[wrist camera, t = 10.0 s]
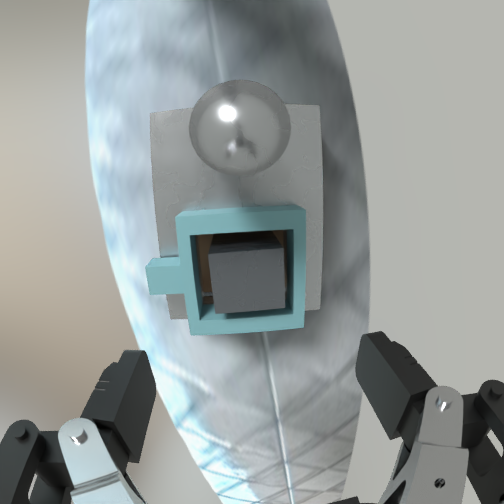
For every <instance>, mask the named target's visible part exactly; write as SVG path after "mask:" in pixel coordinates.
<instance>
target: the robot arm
mask: <svg viewBox="0 0 504 504" xmlns="http://www.w3.org/2000/svg"><path fill="white" fill-rule="evenodd" d="M356 377H357V380H358V382H359V384H360V385H361V387H362V389H363V391H364V393H365V394H366V396H367V398H368V400H369V402H370V404H371V405H372V407H373V409H374V411H375V413H376V415H377V417H378V418H379V420H380V422H381V424H382V426H383V428H384V430H385V432H386V433H387V435H388V437H389V439H390V440H392V439H395V438H398V437H402V439H403V442H402V444H401V447H400V450H399V454H398V457H397V460H396V463H395V466H394V469H393V472H392V475H391V478H390V481H389V483H388V486H387V488H386V490H385V491H384V493H383V495H382V497H381V498H380V500H379V502H378V504H461V503H462V498H463V493H464V487H465V481H466V475H467V476H468V478H469V480H470V482H471V484H472V486H473V488H474V490H475V492H476V494H477V496H478V498H479V500H480V502H481V504H504V451H503V456H502V457H501V456H500V455H499V453H498V452H497V450H496V449H495V447H494V445H493V444H492V443H491V441H490V439H489V438H488V436H487V434H488V433H489V431H490V430H491V429H492V431H493V432H494V434H495V435H496V437H497V438H498V440H499V441H500V442H501V444H502V446H503V450H504V383H502V382H500V381H497V380H488V381H486V382H484V383H483V384H482V386H481V387H480V389H479V391H478V393H474V394H468V395H460V393H459V392H458V391H456V390H455V389H453V388H451V387H447V386H437V385H436V383H435V382H434V381H433V380H432V379H431V377H430V376H429V375H428V374H427V372H426V371H425V370H424V369H423V368H422V367H421V365H420V364H418V363H417V361H416V359H415V358H414V357H412V355H411V354H410V352H409V351H408V350H407V349H406V348H405V347H404V346H402V345H400V344H398V343H397V342H395V341H393V342H391V341H390V340H389V338H388V337H387V336H386V335H385V334H384V333H383V332H382V331H379V332H374V333H368V334H363V335H362V337H361V340H360V346H359V351H358V357H357V362H356ZM155 397H156V383H155V379H154V376H153V373H152V370H151V367H150V363H149V360H148V357H147V354H146V352H145V351H144V350H125V351H124V352H123V354H122V356H121V358H120V360H119V362H118V363H116V362H113V363H112V364H111V365H110V366H108V367H107V368H106V369H105V370H104V371H103V373H102V375H101V377H100V379H99V382H98V383H97V384H96V386H95V390H94V391H93V392H92V394H91V396H90V398H89V400H88V402H87V404H86V406H85V408H84V410H83V413H82V415H81V417H80V418H75V419H72V420H69V421H68V422H66V423H65V424H64V425H63V426H62V427H61V428H60V430H59V431H39V430H38V428H37V427H36V425H35V424H34V423H33V422H31V421H29V420H19V421H16V422H15V423H13V424H12V425H11V426H10V427H9V429H8V430H7V432H6V434H5V436H4V438H3V439H2V441H1V443H0V504H71V499H72V500H73V503H74V504H148V503H147V502H146V501H145V499H144V497H143V496H142V495H141V493H140V491H139V490H138V488H137V487H136V485H135V484H134V482H133V480H132V479H131V477H130V476H129V474H128V472H127V471H126V467H127V463H128V462H133V463H139V461H140V456H141V451H142V448H143V444H144V440H145V435H146V431H147V427H148V423H149V420H150V416H151V412H152V408H153V404H154V401H155ZM34 474H36V475H37V479H36V481H35V484H34V487H33V490H32V493H31V497H30V500H29V499H28V492H29V489H30V486H31V483H32V480H33V477H34ZM329 504H375V503H359V500H358V497H357V496H356V497H352V498H349V499H345V500H341V501H337V502H333V503H329Z"/></svg>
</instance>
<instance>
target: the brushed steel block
mask: <svg viewBox="0 0 504 504" xmlns="http://www.w3.org/2000/svg"><path fill="white" fill-rule="evenodd" d="M208 259H209V268H210V276H211V284H212V292H213V300H214V308H215V314H222V313H235V312H247V311H259V310H269V309H279V308H285V275H284V248H283V246H282V245H281V243H280V242H279V240H278V239H277V237H276V236H275V234H274V233H273V231H272V230H266V231H249V232H232V233H216V234H213V238H212V241H211V245H210V249H209V252H208Z"/></svg>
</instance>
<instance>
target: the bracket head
mask: <svg viewBox="0 0 504 504" xmlns="http://www.w3.org/2000/svg"><path fill="white" fill-rule="evenodd" d="M175 222H176V232H177V241H178V250H179V257H168V258H153V259H152V260H151V261H150V262H149V263H148V265H147V266H146V267H145V269H146V275H147V281H148V287H149V292H150V295H159V294H184V296H185V303H186V310H187V316H188V322H189V328H190V334H191V335H216V334H235V333H250V332H263V331H275V330H286V329H296V328H304V314H305V283H306V209H304V208H302V207H300V206H298V205H282V206H259V207H240V208H224V209H209V210H195V211H182V212H181V213H180V214H178V215H177V216H176V217H175ZM285 229H287V299H285V308H279V309H269V310H259V311H247V312H235V313H222V314H215V308H214V304H205V305H203V303H202V295H201V286H200V277H199V268H198V259H197V249H196V238H195V235H201V234H216V233H232V232H249V231H266V230H285Z"/></svg>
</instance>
